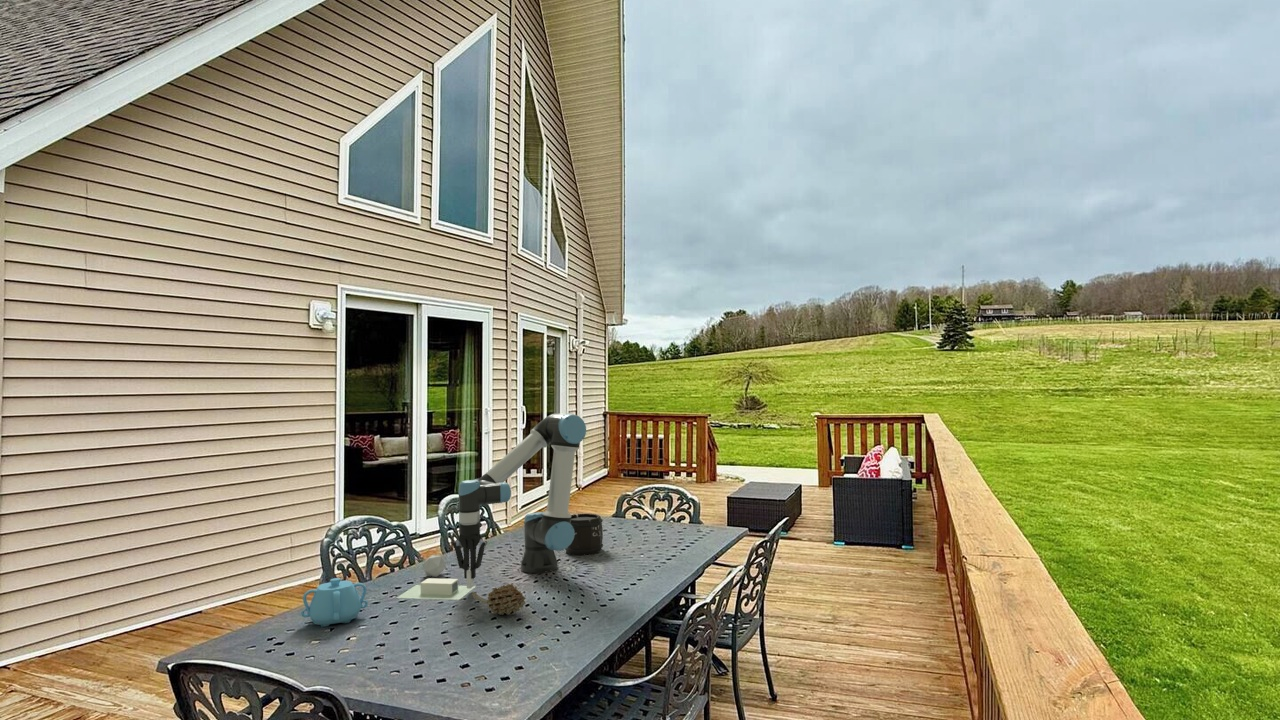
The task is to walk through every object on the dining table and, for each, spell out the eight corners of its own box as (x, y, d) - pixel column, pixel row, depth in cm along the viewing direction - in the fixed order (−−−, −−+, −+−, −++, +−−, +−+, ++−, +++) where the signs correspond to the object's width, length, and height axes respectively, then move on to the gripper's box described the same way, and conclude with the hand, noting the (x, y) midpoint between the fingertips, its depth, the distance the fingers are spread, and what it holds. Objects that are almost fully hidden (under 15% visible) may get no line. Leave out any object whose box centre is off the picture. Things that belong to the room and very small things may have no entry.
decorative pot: (332, 633, 207) (332, 589, 208) (296, 625, 214) (296, 583, 214) (372, 616, 222) (372, 575, 223) (338, 609, 229) (338, 570, 229)
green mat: (476, 586, 252) (476, 586, 252) (459, 600, 236) (459, 599, 236) (416, 585, 256) (416, 584, 256) (396, 598, 240) (396, 598, 240)
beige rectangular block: (458, 578, 248) (427, 578, 250) (451, 583, 242) (420, 583, 244) (458, 589, 248) (427, 589, 250) (451, 594, 242) (420, 594, 244)
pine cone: (532, 612, 222) (531, 582, 223) (516, 621, 214) (516, 590, 214) (477, 605, 231) (476, 576, 231) (459, 614, 222) (459, 584, 222)
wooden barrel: (568, 546, 313) (568, 512, 314) (605, 546, 311) (605, 513, 311) (558, 556, 295) (558, 520, 296) (598, 556, 293) (597, 520, 293)
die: (450, 575, 270) (444, 553, 275) (442, 570, 263) (437, 548, 268) (430, 583, 269) (425, 561, 274) (422, 578, 262) (417, 556, 267)
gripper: (490, 520, 248) (490, 584, 247) (456, 520, 250) (457, 583, 249) (482, 525, 241) (483, 590, 240) (448, 524, 242) (448, 590, 241)
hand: (470, 587), depth 244 cm, fingers closed
